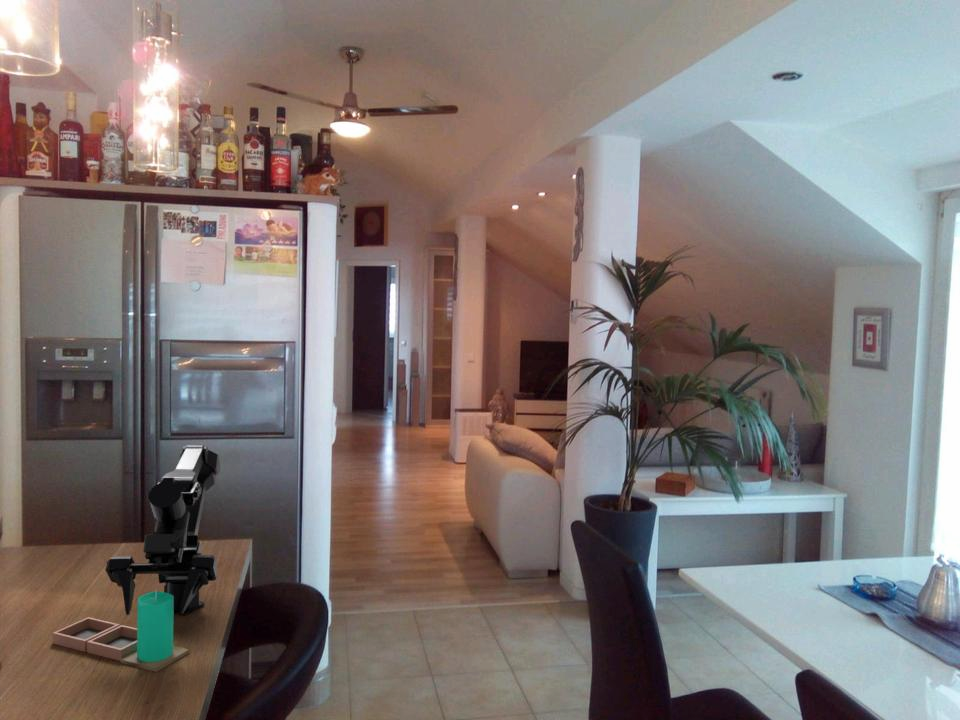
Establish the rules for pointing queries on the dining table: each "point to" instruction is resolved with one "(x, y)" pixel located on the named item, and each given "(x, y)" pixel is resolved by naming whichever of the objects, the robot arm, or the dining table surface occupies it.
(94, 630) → the tray
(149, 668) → the pad
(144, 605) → the candle
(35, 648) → the dining table surface
